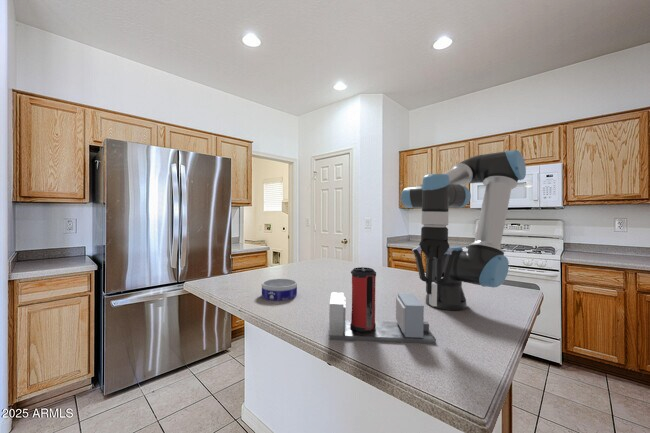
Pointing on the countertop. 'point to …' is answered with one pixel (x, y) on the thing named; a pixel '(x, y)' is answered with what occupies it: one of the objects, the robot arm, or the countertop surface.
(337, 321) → the fixed jaw
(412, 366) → the countertop surface
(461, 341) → the countertop surface
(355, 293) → the speaker
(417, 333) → the slide jaw
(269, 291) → the dog bowl
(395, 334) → the vise bed
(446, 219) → the robot arm
